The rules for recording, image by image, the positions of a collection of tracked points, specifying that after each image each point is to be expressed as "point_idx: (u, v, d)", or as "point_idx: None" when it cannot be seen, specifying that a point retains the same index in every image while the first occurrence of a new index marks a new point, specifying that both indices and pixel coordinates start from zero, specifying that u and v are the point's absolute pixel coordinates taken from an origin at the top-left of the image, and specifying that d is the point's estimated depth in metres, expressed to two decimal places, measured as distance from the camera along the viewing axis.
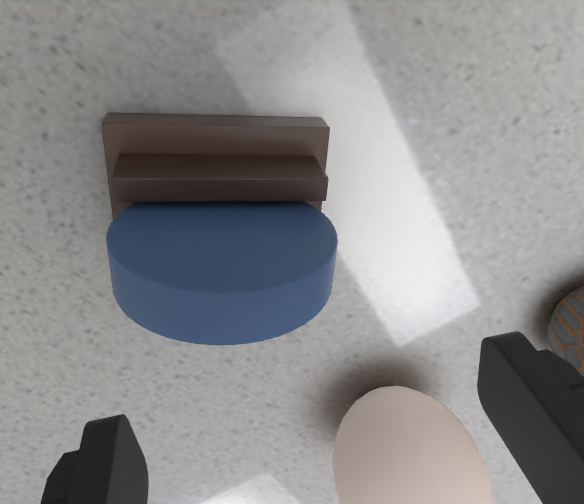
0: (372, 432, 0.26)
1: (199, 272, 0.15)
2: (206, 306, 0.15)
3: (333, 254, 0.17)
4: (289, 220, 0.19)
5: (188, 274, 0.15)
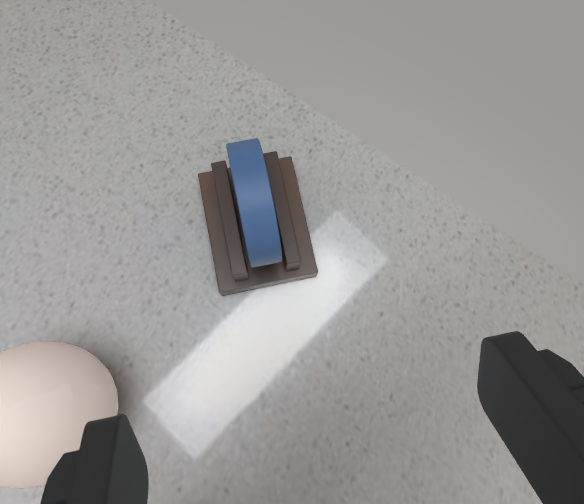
0: (95, 358, 0.31)
1: None
2: (257, 167, 0.29)
3: (279, 245, 0.30)
4: None
5: None
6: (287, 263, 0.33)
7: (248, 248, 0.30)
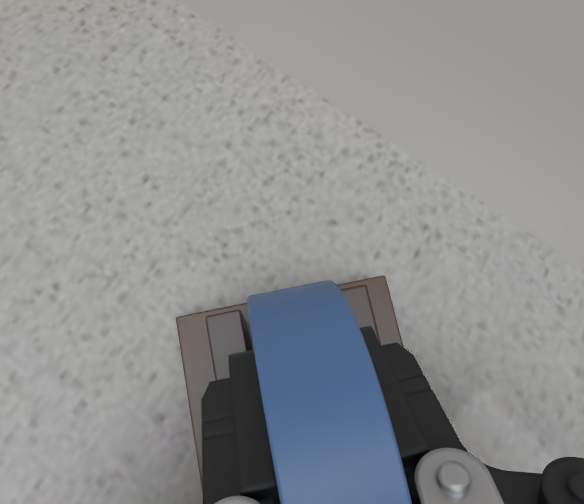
0: None
1: None
2: (364, 441, 0.08)
3: None
4: None
5: None
6: None
7: None
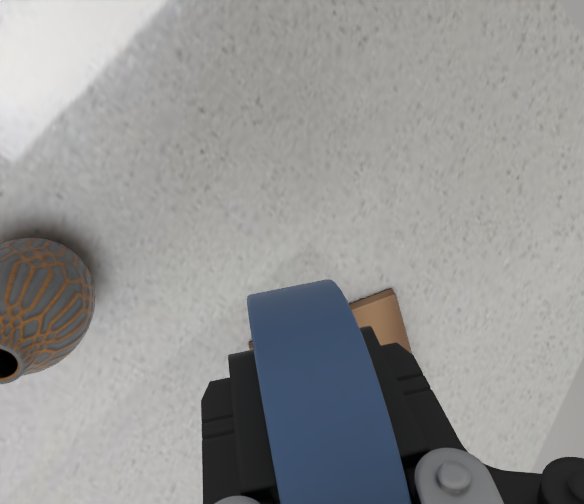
0: None
1: None
2: (363, 439, 0.08)
3: None
4: None
5: None
6: None
7: None
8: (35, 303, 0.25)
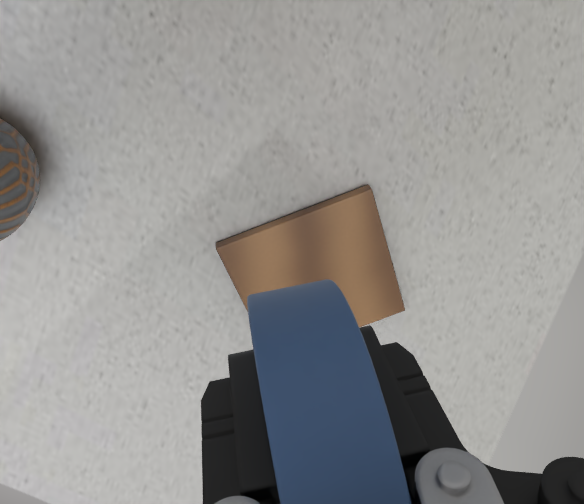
0: None
1: None
2: (363, 439, 0.08)
3: None
4: None
5: None
6: None
7: None
8: None
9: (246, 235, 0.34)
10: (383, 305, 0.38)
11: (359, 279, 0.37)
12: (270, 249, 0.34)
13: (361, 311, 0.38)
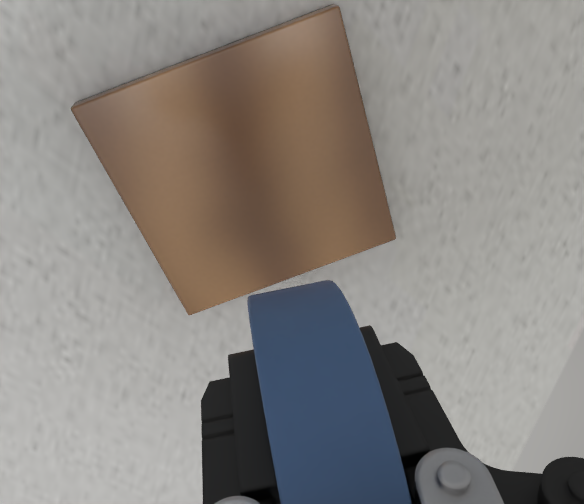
0: None
1: None
2: (364, 441, 0.08)
3: None
4: None
5: None
6: None
7: None
8: None
9: (123, 86, 0.19)
10: (362, 228, 0.24)
11: (322, 181, 0.23)
12: (167, 116, 0.20)
13: (327, 238, 0.24)
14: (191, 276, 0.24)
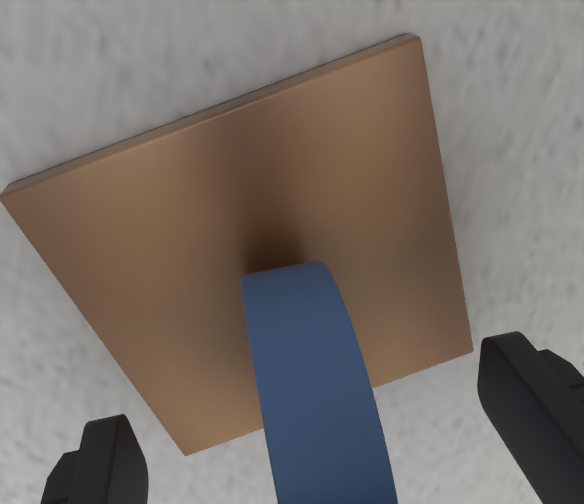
0: None
1: None
2: (345, 399, 0.09)
3: None
4: None
5: None
6: None
7: None
8: None
9: (81, 162, 0.12)
10: (429, 341, 0.17)
11: (377, 284, 0.16)
12: (151, 203, 0.13)
13: (380, 354, 0.17)
14: (188, 410, 0.17)
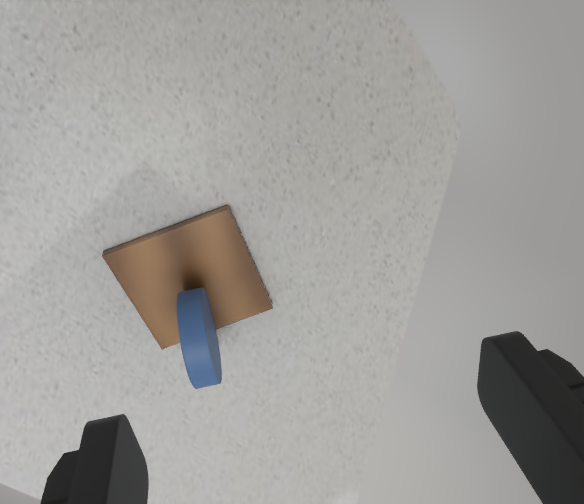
0: None
1: (207, 331, 0.39)
2: (199, 338, 0.38)
3: (218, 382, 0.40)
4: (218, 360, 0.43)
5: (206, 327, 0.39)
6: None
7: (194, 387, 0.40)
8: None
9: (127, 245, 0.41)
10: (253, 304, 0.46)
11: (228, 282, 0.44)
12: (148, 257, 0.42)
13: (234, 309, 0.46)
14: (162, 329, 0.46)
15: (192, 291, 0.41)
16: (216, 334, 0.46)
